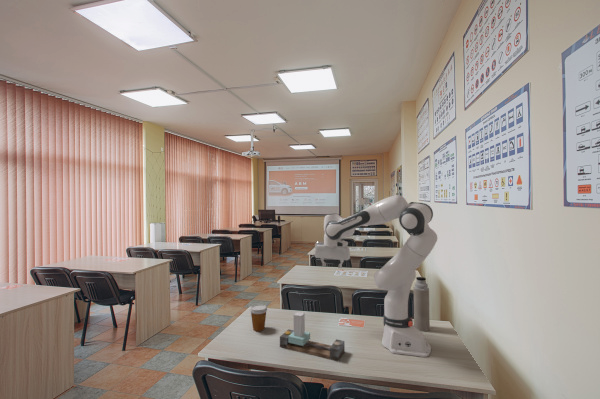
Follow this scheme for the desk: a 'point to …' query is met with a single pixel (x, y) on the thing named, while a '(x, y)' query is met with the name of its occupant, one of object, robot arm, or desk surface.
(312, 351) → the rail
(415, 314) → the thermos bottle
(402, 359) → the desk surface
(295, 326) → the block
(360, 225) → the robot arm
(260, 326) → the disposable coffee cup
